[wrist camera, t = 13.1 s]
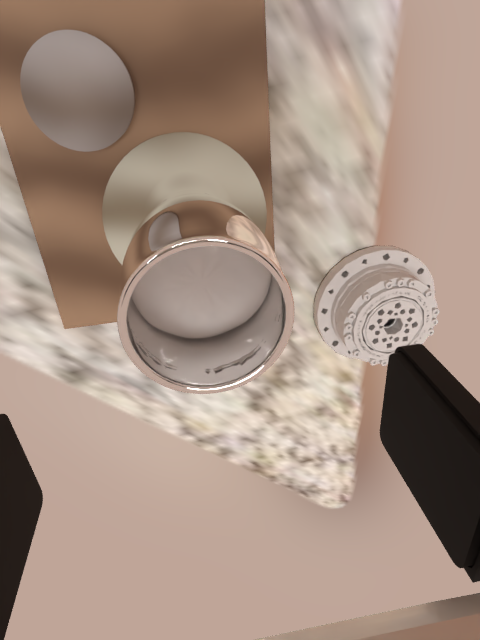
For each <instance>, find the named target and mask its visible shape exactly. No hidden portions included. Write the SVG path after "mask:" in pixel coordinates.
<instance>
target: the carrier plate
mask: <svg viewBox="0 0 480 640" xmlns="http://www.w3.org/2000/svg"><path fill="white" fill-rule="evenodd" d="M0 126H1V129H2V132H3V135H4V139H5V142H6V145H7V148H8V151H9V154H10V158H11V161H12V164H13V167H14V170H15V173H16V177H17V180H18V183H19V186H20V189H21V192H22V196H23V199H24V202H25V205H26V208H27V211H28V215H29V218H30V221H31V224H32V227H33V230H34V234H35V237H36V240H37V243H38V246H39V249H40V253H41V256H42V259H43V262H44V265H45V268H46V272H47V275H48V278H49V281H50V284H51V287H52V291H53V294H54V297H55V300H56V303H57V306H58V310H59V313H60V316H61V319H62V322H63V325H64V329H68V328H75V327H83V326H90V325H97V324H105V323H112V322H117V312H118V305H119V288H120V276H121V270H122V264H123V259H124V256H125V253H126V250H127V247H128V244H129V242H130V239H131V237H132V235H133V233H134V231H135V230H136V228H137V227H138V226H139V224H140V223H141V222H142V220H143V214H144V206H145V202H146V200H147V197H148V195H149V193H150V192H151V190H152V189H153V188H154V186H155V185H156V184H157V183H158V182H160V181H161V180H162V179H164V178H165V177H167V176H169V175H171V174H174V173H178V172H184V171H192V172H199V173H202V174H205V175H208V176H210V177H212V178H213V179H215V180H216V181H218V182H219V183H220V184H221V185H222V186H223V187H224V188H225V190H226V191H227V192H228V194H229V196H230V198H231V200H232V203H233V205H234V206H236V207H237V208H239V209H240V210H242V211H243V212H244V213H245V214H247V215H248V216H249V217H250V218H251V219H252V220H253V221H254V223H255V224H256V225H257V226H258V228H259V229H260V230H261V231H262V233H263V234H264V235H265V237H266V239H267V240H268V242H269V244H270V246H271V247H272V249H273V251H274V226H273V201H272V176H271V151H270V126H269V101H268V76H267V51H266V26H265V1H264V0H0ZM274 253H275V251H274Z"/></svg>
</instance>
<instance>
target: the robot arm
mask: <svg viewBox="0 0 480 640" xmlns="http://www.w3.org/2000/svg"><path fill="white" fill-rule="evenodd" d="M380 437H381V441H382V444H383V445H384V447H385V449H386V451H387V452H388V454H389V456H390V457H391V459H392V461H393V462H394V464H395V466H396V467H397V469H398V471H399V472H400V474H401V476H402V477H403V479H404V481H405V482H406V484H407V486H408V487H409V489H410V491H411V492H412V494H413V496H414V497H415V499H416V501H417V502H418V504H419V506H420V507H421V509H422V511H423V512H424V514H425V516H426V517H427V519H428V521H429V522H430V524H431V526H432V527H433V529H434V531H435V532H436V534H437V536H438V537H439V539H440V540H441V542H442V544H443V546H444V547H445V549H446V550H447V552H448V554H449V556H450V557H451V559H452V561H453V562H454V563H455V565H456V566H458V567H459V568H464V569H465V570H466V572H467V574H468V575H469V577H470V579H471V580H472V582H477V581H480V403H479V402H478V401H477V400H476V399H475V398H474V397H473V396H472V395H471V394H470V393H469V392H468V391H467V390H466V389H465V388H464V387H463V386H462V384H461V383H460V382H458V380H457V379H456V378H455V377H454V376H453V375H452V374H451V373H450V372H449V371H448V370H447V369H446V368H445V367H444V366H443V365H442V364H441V363H440V362H439V361H438V360H437V359H436V358H435V357H434V356H433V355H432V354H431V353H430V352H429V351H428V350H427V349H426V348H425V347H424V346H423V345H422V344H413V345H406V346H400V347H397V348H396V350H395V353H392V354H390V356H389V360H388V369H387V376H386V385H385V393H384V401H383V409H382V418H381V425H380ZM42 501H43V495H42V490H41V488H40V486H39V484H38V481H37V479H36V477H35V475H34V472H33V470H32V468H31V466H30V464H29V462H28V460H27V457H26V455H25V453H24V451H23V448H22V446H21V444H20V442H19V440H18V438H17V435H16V434H15V431H14V429H13V427H12V424H11V422H10V421H9V418H8V416H7V415H5V414H0V640H4V637H5V633H6V630H7V626H8V623H9V619H10V616H11V612H12V609H13V605H14V602H15V598H16V595H17V591H18V588H19V584H20V580H21V577H22V574H23V570H24V566H25V563H26V560H27V556H28V553H29V549H30V546H31V542H32V539H33V535H34V531H35V528H36V524H37V521H38V518H39V514H40V510H41V507H42ZM257 640H480V593H477V594H473V595H467V596H461V597H456V598H451V599H446V600H441V601H435V602H431V603H426V604H422V605H416V606H412V607H407V608H402V609H398V610H393V611H388V612H383V613H379V614H374V615H369V616H364V617H359V618H355V619H350V620H345V621H341V622H336V623H331V624H326V625H321V626H317V627H312V628H307V629H303V630H299V631H293V632H289V633H284V634H280V635H275V636H270V637H266V638H261V639H257Z"/></svg>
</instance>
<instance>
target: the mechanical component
mask: <svg viewBox="0 0 480 640" xmlns="http://www.w3.org/2000/svg"><path fill="white" fill-rule="evenodd" d="M439 312H440V311H439V309H438V308H437V302H436V300H435V288H434V282H433V277H432V275H431V274H430V272H429V270H428V268H427V266H426V265H425V264H423V262H422V261H421V260H420V259H418V258H417V257H415V256H414V255H412V254H411V253H409V252H408V251H406V250H403V249H400V248H397V247H394V246H372V247H369V248H365V249H362V250H358V251H356V252H355V253H353V254H351V255H349V256H347V257H345V258H344V259H342V260H341V261H340V262H339V263H338V264H337V265H336V266H335V267H333V268H332V269H331V270H330V272H329V273H328V274H327V276H326V277H325V278H324V280H323V281H322V283H321V285H320V287H319V289H318V291H317V294H316V298H315V301H314V320H315V323H316V326H317V329H318V331H319V333H320V335H321V336H322V338H323V340H324V341H325V342H326V343H327V344H328V345H329V346H330V347H331V348H332V349H333V350H334V351H335V352H336V353H338V354H341V355H343V356H345V357H348V358H351V359H360V360H362V361H366V362H369V363H370V364H371V365H376V364H381V365H382V366H385V365H387V364H388V360H389V356H390V354H392V353H395V350H396V348H397V347H400V346H406V345H413V344H423V343H424V342H425V340H426V339H427V337H428V336H431V335H433V334H434V330H433V328H434V326H435V325H437V324H438V320H437V319H436V318H437V315H438V314H439Z"/></svg>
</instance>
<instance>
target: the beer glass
mask: <svg viewBox="0 0 480 640" xmlns="http://www.w3.org/2000/svg"><path fill="white" fill-rule="evenodd" d="M293 323H294V301H293V296H292V292H291V289H290V286H289V284H288V282H287V280H286V278H285V276H284V274H283V272H282V269H281V267H280V264H279V262H278V260H277V257H276V255H275V253H274V251H273V249H272V247H271V246H270V244H269V242H268V240H267V239H266V237H265V235H264V234H263V233H262V231H261V230H260V229H259V228H258V226H257V225H256V224H255V223H254V221H253V220H252V219H251V218H250V217H249V216H248V215H247V214H245V213H244V212H243V211H242V210H240V209H239V208H237V207H236V206H234V205H233V203H232V200H231V198H230V196H229V194H228V192H227V191H226V190H225V188H224V187H223V186H222V185H221V184H220V183H219V182H218V181H216V180H215V179H213V178H212V177H210V176H208V175H205V174H202V173H199V172H192V171H184V172H178V173H174V174H171V175H169V176H167V177H165V178H164V179H162V180H161V181H160V182H158V183H157V184H156V185H155V186H154V188H153V189H152V190H151V192H150V193H149V195H148V197H147V200H146V202H145V206H144V214H143V220H142V222H141V223H140V224H139V226H138V227H137V228H136V230H135V231H134V233H133V235H132V237H131V239H130V242H129V244H128V247H127V250H126V253H125V256H124V259H123V264H122V270H121V276H120V288H119V305H118V312H117V324H118V331H119V336H120V339H121V342H122V345H123V347H124V349H125V351H126V353H127V355H128V356H129V358H130V359H131V361H132V362H133V363H134V364H135V366H136V367H137V368H138V369H139V370H140V371H141V372H143V373H144V374H145V375H146V376H148V377H149V378H150V379H152V380H154V381H155V382H157V383H159V384H161V385H163V386H165V387H168V388H171V389H174V390H177V391H181V392H187V393H195V394H209V393H218V392H223V391H227V390H231V389H234V388H237V387H240V386H242V385H244V384H246V383H248V382H250V381H252V380H254V379H255V378H257V377H258V376H260V375H261V374H262V373H264V372H265V371H266V370H267V369H268V368H269V367H270V366H271V365H272V364H273V363H274V362H275V361H276V360H277V359H278V357H279V356H280V355H281V353H282V351H283V350H284V348H285V346H286V344H287V342H288V340H289V338H290V335H291V332H292V328H293Z"/></svg>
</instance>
